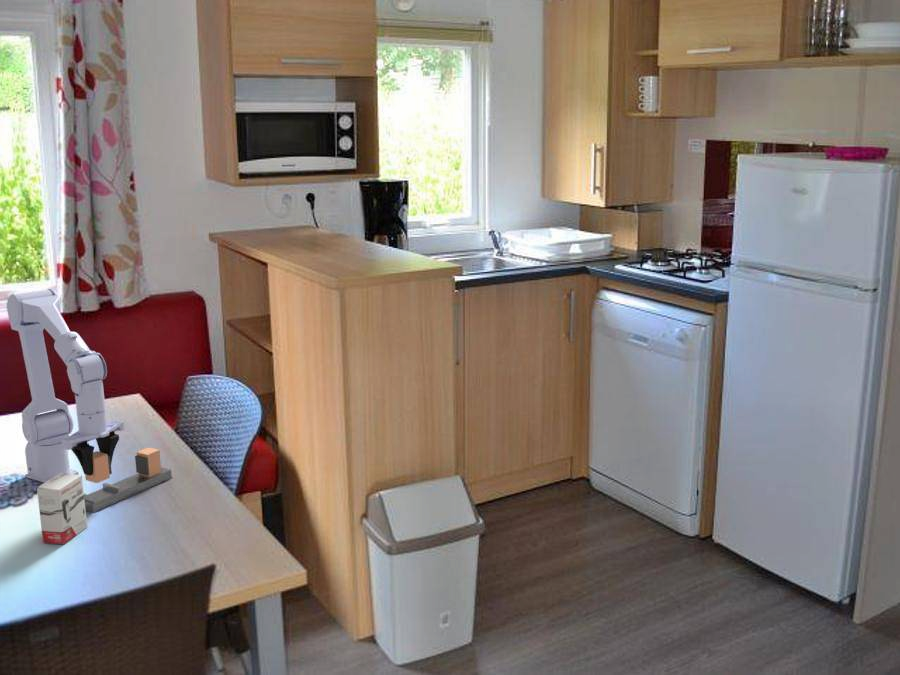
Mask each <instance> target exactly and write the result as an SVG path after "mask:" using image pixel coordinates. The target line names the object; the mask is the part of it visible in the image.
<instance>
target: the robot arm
mask: <svg viewBox="0 0 900 675" xmlns="http://www.w3.org/2000/svg"><path fill="white" fill-rule="evenodd" d="M6 312H7V315H8V316H7V317H8V322H9V325H10V328H11V330H13V331H17V332H18V334H19V340H20V344H21V349H22V355H23V360H24V365H25V369H26V374H27V375H26V376H27V380H28V385H29V389H30V390H29V391H30V397H31V402H30V403H28V405H27V406H26V407H25V408H24V409H23V410H22V411H21V419H22V423H21V428H22V434H23V436H24V438H25V440H26V441H27V443H26V445H25V450H24V454H25V459H26V460H25V462H26V468H27V469H26V470H27V471H26V472H27V473H25V474H24V477H25V478H28V479H31V480H34V481H38V482H41V483H45V482H46V481H48V480H49V479H51V478H53V477H54V476H56V475H58V474H59V473H68V474H78V475H79V471H78V470H76V469H71V468H70V458H69V451H71V452H73V454H74V455H75V457H76V458H77V460H78V462H79V464H80V466H81V469H82V471H83V472H82V473H83V474H84V475H85V474H86V475H90V476H91V475H93V452H95V451H94V450H95V446H93V445H90V443H88V442H91V441H93V440H95V441H96V444H97V447H98V452H102V453H105V454H107V455H108V456H110V461H111V464H112V461H113V457H114V452H115V450H116V446H117V444H118V443H119V441H120V435H119V434H117V433H116V432H118V431H119V432H122V431H124V430H125V425H124V421H122V420H118V419H117V420H114V421H109V422H108V421H107V410H106V401H105V400H106V399H105V393H104V383H103V382H104V381H103V380H105V379H106V378H107V374H108V369H107V363H106V361H105V359H104V357H103V356H102V354H101V353H100V352H96V351H95V350H91V349H90V348H89V346H88V344H86V342H85V340H84V339H83V338H82V337H81V336H80V334H79V333H78V332H76V331H71V330H70V329H69V326H68V324H67V323H66V321H65V319H64V317H63V316H62V314H61V300H60V296H59V294H58V293H57V291H56V290H54V289H53V288H47V289H43V290H35V291H29V292H23V293H11V294H10V295H9V297H8V299H7V302H6ZM44 329H45V331H46V332H47V333H48V334H49V335H50V336H51V337H52V338H53V340H54V344H53V347H54V350H55V351H56V353H57V355H58V356H59V357H60V359H61V361H63V363H64V364H65V366H66V368H67V369H66V373H67V376H68V377H67V378H68V379H69V382H70V386H71V390H72V392H73V393H74V398H75V406H76V416H77V417H76V418H77V424H78V425H77V427H78V431H75V433H73V434H72V432H73V430H74V420H73V416H72V414H71V412H70V409H69V406H68V403H66V402H65V401H63V400H61V399H59V398H56V396H55V395H56V394H55V388H54V384H53V379H52V373H51V368H50V363H49V359H48V353H47V348H46V343H45V337H44Z"/></svg>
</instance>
